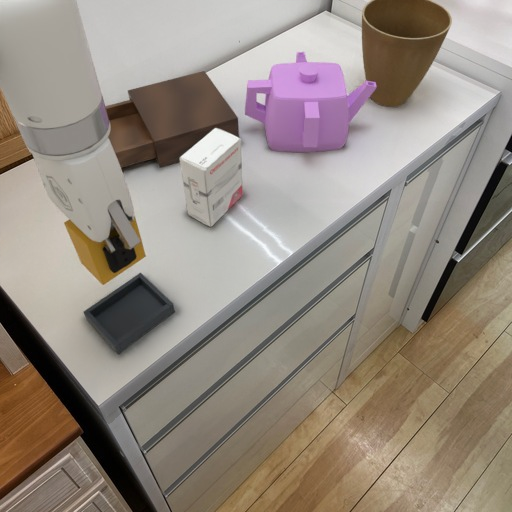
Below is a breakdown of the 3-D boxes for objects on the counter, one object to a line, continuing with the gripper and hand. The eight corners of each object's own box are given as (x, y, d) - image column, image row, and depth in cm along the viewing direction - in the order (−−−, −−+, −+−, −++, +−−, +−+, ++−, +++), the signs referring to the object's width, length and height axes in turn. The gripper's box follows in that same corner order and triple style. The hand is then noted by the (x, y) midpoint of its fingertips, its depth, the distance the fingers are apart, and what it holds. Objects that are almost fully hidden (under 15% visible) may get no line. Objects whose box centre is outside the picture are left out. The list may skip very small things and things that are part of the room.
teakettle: (237, 132, 95) (235, 70, 86) (298, 91, 103) (302, 30, 94) (312, 176, 88) (318, 113, 78) (371, 128, 96) (383, 66, 86)
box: (103, 285, 60) (86, 245, 54) (81, 263, 62) (63, 222, 56) (146, 256, 62) (135, 215, 57) (123, 235, 64) (110, 194, 59)
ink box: (220, 183, 87) (216, 124, 78) (244, 195, 85) (243, 136, 76) (186, 215, 83) (177, 156, 73) (211, 228, 81) (205, 170, 72)
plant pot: (334, 99, 102) (345, 17, 89) (377, 66, 109) (392, -14, 96) (402, 130, 95) (424, 47, 83) (442, 93, 102) (468, 11, 90)
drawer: (73, 186, 86) (67, 168, 83) (55, 135, 94) (49, 117, 91) (176, 156, 90) (173, 138, 87) (150, 109, 98) (147, 91, 95)
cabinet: (159, 167, 90) (154, 141, 85) (133, 116, 99) (127, 90, 94) (239, 144, 93) (238, 117, 89) (206, 96, 102) (204, 70, 98)
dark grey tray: (118, 354, 67) (114, 346, 66) (86, 320, 71) (82, 311, 69) (175, 311, 71) (173, 303, 70) (142, 280, 75) (140, 272, 73)
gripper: (-22, 97, 49) (43, 229, 63) (79, 188, 41) (126, 316, 55) (51, 65, 52) (96, 198, 66) (157, 144, 44) (183, 275, 59)
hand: (110, 250), depth 61 cm, fingers closed on box, 4 cm apart
